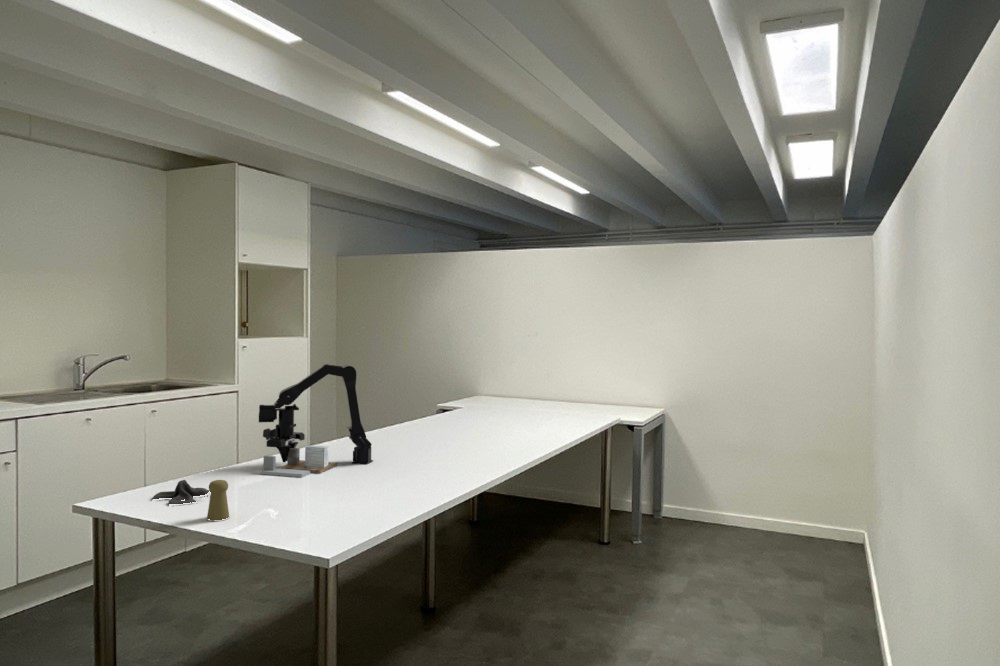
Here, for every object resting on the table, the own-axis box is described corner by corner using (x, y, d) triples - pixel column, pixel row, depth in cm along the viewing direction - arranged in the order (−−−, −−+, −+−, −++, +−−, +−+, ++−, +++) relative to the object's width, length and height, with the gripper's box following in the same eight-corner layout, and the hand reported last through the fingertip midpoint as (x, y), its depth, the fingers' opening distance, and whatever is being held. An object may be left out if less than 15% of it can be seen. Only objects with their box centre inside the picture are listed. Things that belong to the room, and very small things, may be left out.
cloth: (180, 510, 206) (180, 490, 206) (136, 503, 213) (137, 483, 213) (235, 493, 227) (235, 475, 226) (194, 487, 234) (194, 469, 234)
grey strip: (310, 473, 254) (310, 457, 253) (301, 477, 248) (302, 460, 248) (269, 470, 257) (269, 454, 257) (260, 474, 251) (260, 457, 251)
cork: (211, 515, 200) (211, 478, 200) (232, 515, 200) (232, 478, 200) (203, 521, 194) (204, 483, 194) (225, 521, 194) (226, 483, 194)
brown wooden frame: (337, 465, 268) (337, 447, 268) (320, 473, 254) (320, 454, 254) (297, 463, 272) (298, 445, 272) (279, 470, 258) (279, 451, 258)
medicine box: (328, 468, 264) (329, 445, 264) (324, 470, 259) (324, 447, 259) (309, 467, 265) (309, 445, 265) (304, 469, 260) (305, 446, 260)
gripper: (280, 417, 276) (280, 455, 276) (254, 424, 257) (253, 465, 258) (305, 418, 273) (305, 457, 274) (280, 425, 255) (280, 467, 255)
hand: (285, 461), depth 265 cm, fingers closed
